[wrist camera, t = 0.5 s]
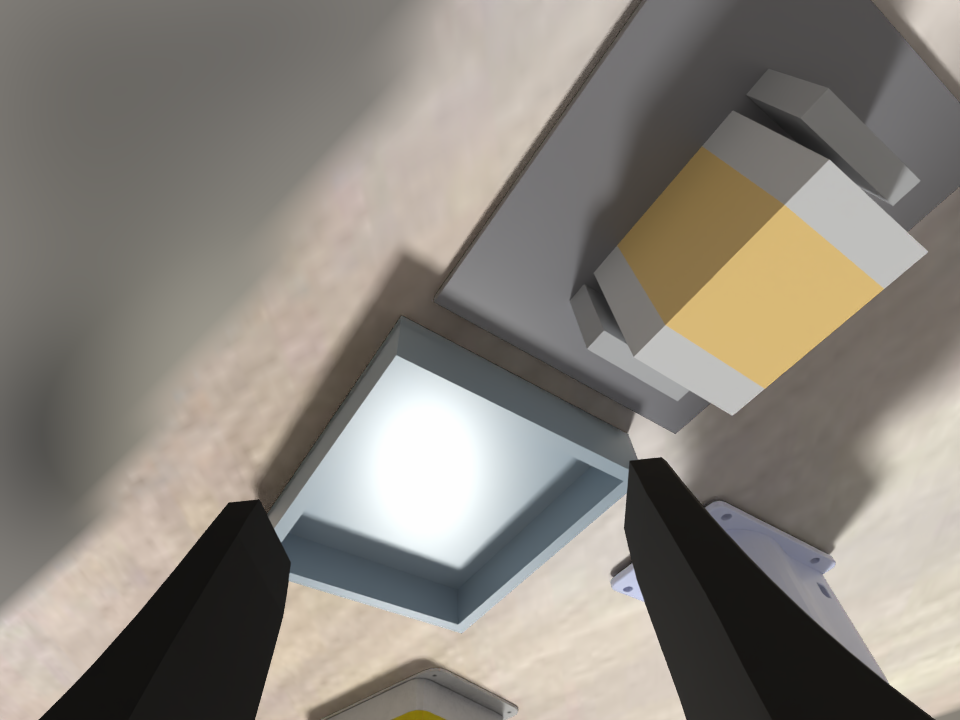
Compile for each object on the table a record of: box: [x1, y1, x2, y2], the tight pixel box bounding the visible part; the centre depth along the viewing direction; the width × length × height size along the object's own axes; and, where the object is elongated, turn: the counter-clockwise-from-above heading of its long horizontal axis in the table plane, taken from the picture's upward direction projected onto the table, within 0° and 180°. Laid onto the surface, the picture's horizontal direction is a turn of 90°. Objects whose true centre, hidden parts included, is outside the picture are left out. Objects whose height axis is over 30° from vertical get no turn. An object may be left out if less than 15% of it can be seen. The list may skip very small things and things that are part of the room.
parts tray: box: [267, 316, 638, 633], centre depth 24 cm, size 11×13×2 cm
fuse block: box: [434, 0, 960, 434], centre depth 17 cm, size 12×14×3 cm
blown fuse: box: [594, 111, 928, 416], centre depth 16 cm, size 4×6×5 cm, turn 146°
